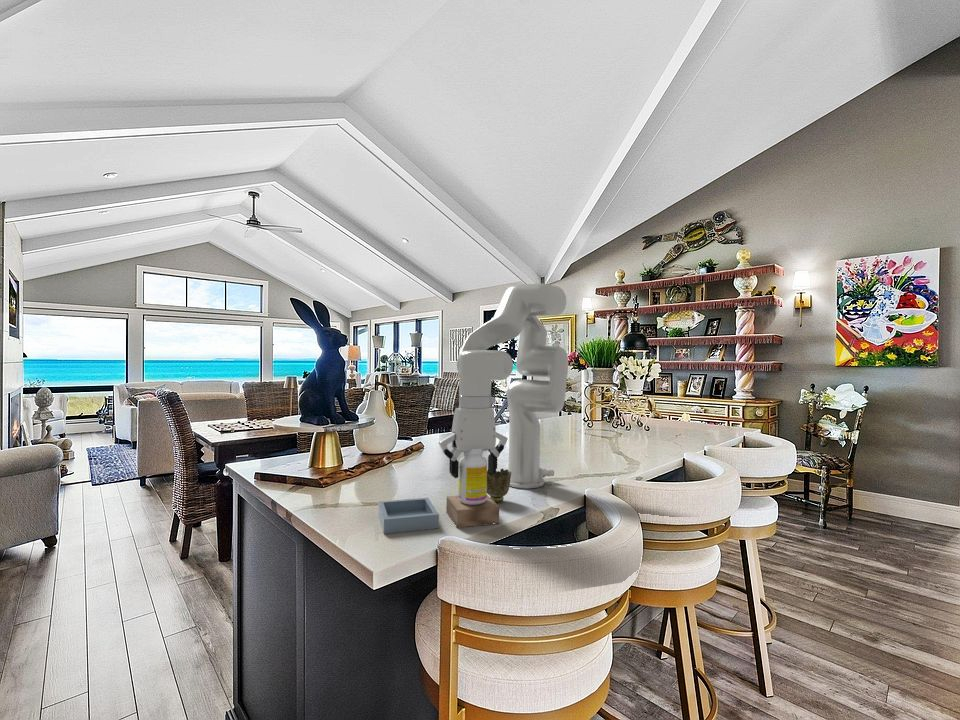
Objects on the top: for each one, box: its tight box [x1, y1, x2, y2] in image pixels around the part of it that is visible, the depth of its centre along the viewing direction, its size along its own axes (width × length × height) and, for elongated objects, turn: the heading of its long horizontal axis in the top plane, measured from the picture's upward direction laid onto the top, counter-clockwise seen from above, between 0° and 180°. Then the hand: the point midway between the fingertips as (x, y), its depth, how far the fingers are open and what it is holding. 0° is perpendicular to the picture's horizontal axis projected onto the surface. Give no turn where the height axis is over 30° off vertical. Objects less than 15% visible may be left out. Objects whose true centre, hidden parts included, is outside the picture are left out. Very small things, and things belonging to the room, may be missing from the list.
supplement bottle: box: [458, 449, 488, 505], centre depth 105 cm, size 7×7×13 cm
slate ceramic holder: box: [378, 497, 440, 535], centre depth 102 cm, size 12×12×3 cm
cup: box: [487, 468, 511, 504], centre depth 118 cm, size 8×7×8 cm
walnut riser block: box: [445, 495, 500, 528], centre depth 105 cm, size 10×10×4 cm
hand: (473, 474), depth 105 cm, fingers open, 9 cm apart
